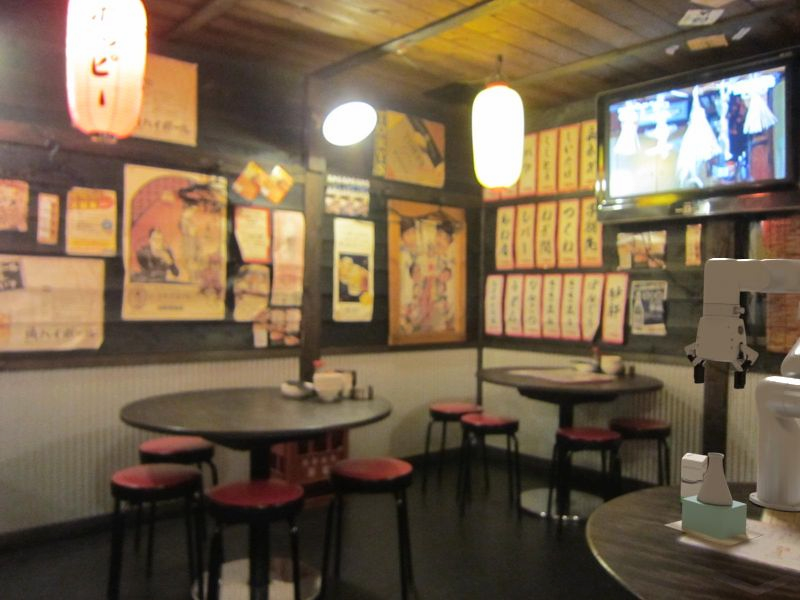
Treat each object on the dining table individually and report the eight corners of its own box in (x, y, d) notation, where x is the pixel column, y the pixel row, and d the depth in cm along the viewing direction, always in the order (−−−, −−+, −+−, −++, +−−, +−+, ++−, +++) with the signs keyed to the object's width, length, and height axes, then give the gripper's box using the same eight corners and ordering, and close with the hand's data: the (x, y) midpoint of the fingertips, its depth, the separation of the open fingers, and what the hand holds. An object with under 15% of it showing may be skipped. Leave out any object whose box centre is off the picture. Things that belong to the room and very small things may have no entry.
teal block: (706, 519, 146) (706, 492, 146) (745, 532, 139) (746, 504, 139) (681, 526, 141) (682, 498, 141) (721, 540, 134) (722, 510, 134)
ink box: (701, 511, 156) (703, 461, 156) (679, 507, 159) (680, 458, 159) (706, 502, 163) (708, 455, 163) (685, 498, 166) (686, 452, 166)
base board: (702, 520, 150) (702, 514, 150) (764, 540, 138) (764, 534, 138) (663, 530, 142) (664, 524, 142) (726, 552, 130) (726, 546, 130)
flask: (738, 508, 136) (739, 459, 136) (700, 504, 137) (701, 456, 137) (728, 497, 143) (729, 451, 143) (692, 494, 144) (693, 449, 144)
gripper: (767, 313, 147) (765, 390, 147) (696, 311, 162) (694, 380, 162) (749, 313, 143) (746, 391, 143) (677, 310, 157) (675, 382, 157)
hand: (718, 385), depth 152 cm, fingers open, 9 cm apart
